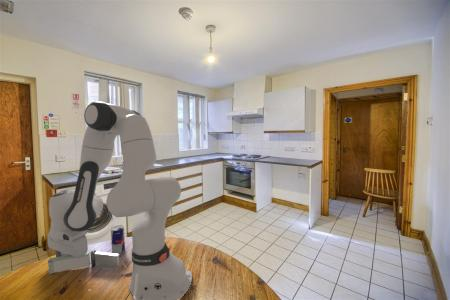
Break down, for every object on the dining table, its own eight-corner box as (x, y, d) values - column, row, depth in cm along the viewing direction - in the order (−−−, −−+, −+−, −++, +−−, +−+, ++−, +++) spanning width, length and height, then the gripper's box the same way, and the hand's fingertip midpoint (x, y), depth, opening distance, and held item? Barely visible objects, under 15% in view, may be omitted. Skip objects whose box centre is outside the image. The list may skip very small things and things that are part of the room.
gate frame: (120, 267, 84) (119, 252, 84) (116, 270, 83) (116, 255, 82) (59, 260, 89) (58, 246, 88) (55, 263, 87) (54, 249, 86)
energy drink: (119, 256, 91) (118, 231, 90) (109, 255, 92) (107, 230, 91) (127, 249, 96) (126, 225, 95) (117, 248, 98) (116, 224, 96)
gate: (90, 263, 85) (89, 251, 85) (89, 266, 84) (88, 254, 83) (51, 270, 81) (50, 258, 80) (49, 273, 79) (47, 260, 79)
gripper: (41, 228, 84) (44, 260, 86) (73, 238, 77) (76, 272, 78) (58, 222, 90) (60, 251, 92) (89, 230, 83) (92, 262, 84)
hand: (68, 261), depth 85 cm, fingers closed
